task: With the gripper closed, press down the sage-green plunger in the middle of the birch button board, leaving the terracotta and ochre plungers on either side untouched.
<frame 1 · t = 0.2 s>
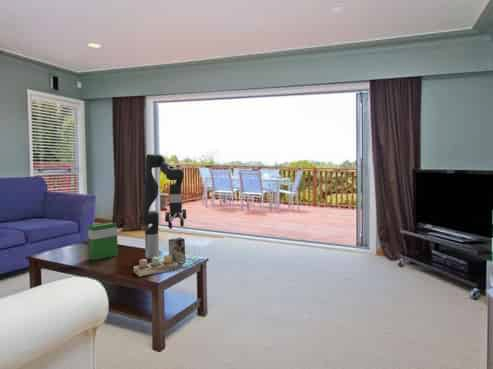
hand: (176, 227, 227), 28 cm above the table, fingers open, 8 cm apart
coffee box: (177, 262, 251), on the table
button ochre: (167, 259, 238), point 5 cm above the table, slide at 0.0 cm
button terracotta: (143, 264, 229), point 5 cm above the table, slide at 0.0 cm
green banded box: (104, 257, 267), on the table
button sage: (155, 261, 233), point 5 cm above the table, slide at 0.0 cm
button board: (156, 270, 234), on the table
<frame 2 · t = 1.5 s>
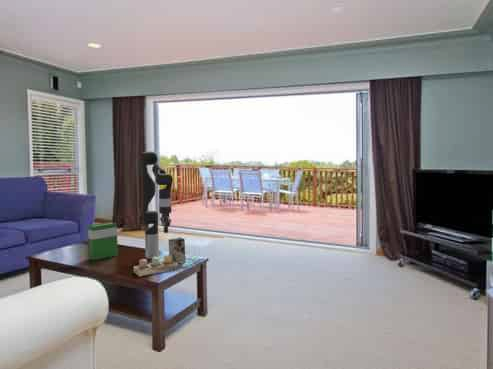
hand: (166, 232, 233), 24 cm above the table, fingers closed
nothing on the table moved.
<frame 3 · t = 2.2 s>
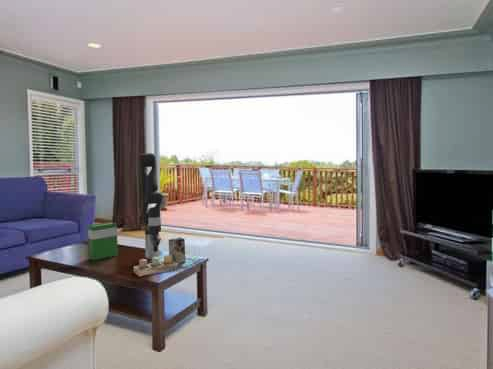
hand: (155, 251, 233), 12 cm above the table, fingers closed
nothing on the table moved.
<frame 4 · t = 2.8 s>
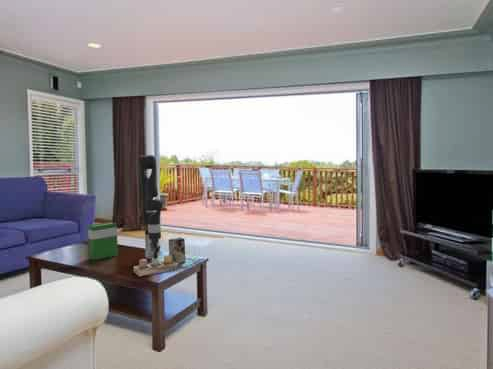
hand: (155, 258, 233), 8 cm above the table, fingers closed
button sage: (155, 262, 233), point 5 cm above the table, slide at 0.3 cm, touching gripper
everything else where it was.
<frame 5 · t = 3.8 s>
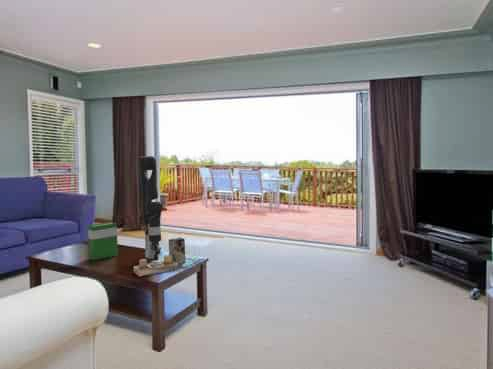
hand: (155, 260, 233), 6 cm above the table, fingers closed
button sage: (155, 265, 234), point 3 cm above the table, slide at 2.3 cm
everything else where it was.
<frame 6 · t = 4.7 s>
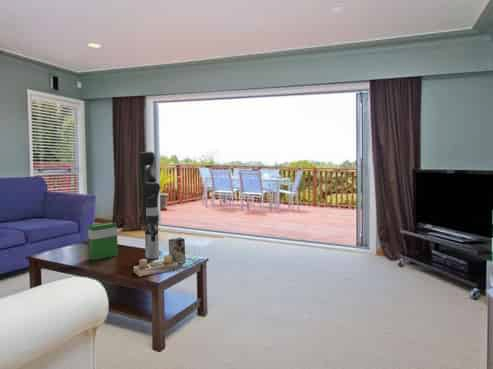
hand: (153, 241, 233), 18 cm above the table, fingers closed
nothing on the table moved.
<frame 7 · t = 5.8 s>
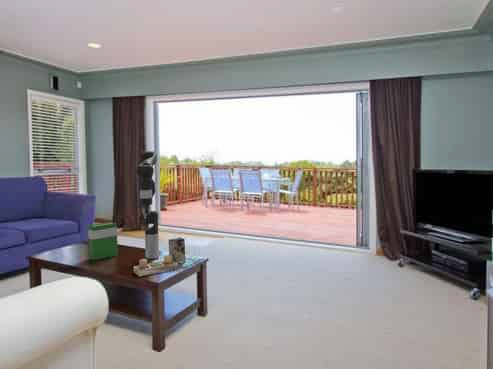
hand: (147, 224, 234), 29 cm above the table, fingers closed
nothing on the table moved.
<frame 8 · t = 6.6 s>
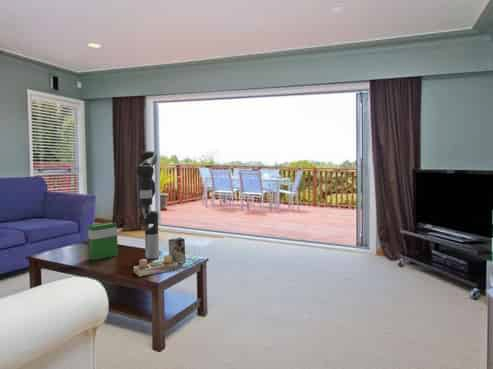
hand: (147, 224, 234), 29 cm above the table, fingers closed
nothing on the table moved.
at the end: button sage slide at 2.3 cm; button terracotta slide at 0.0 cm; button ochre slide at 0.0 cm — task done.
